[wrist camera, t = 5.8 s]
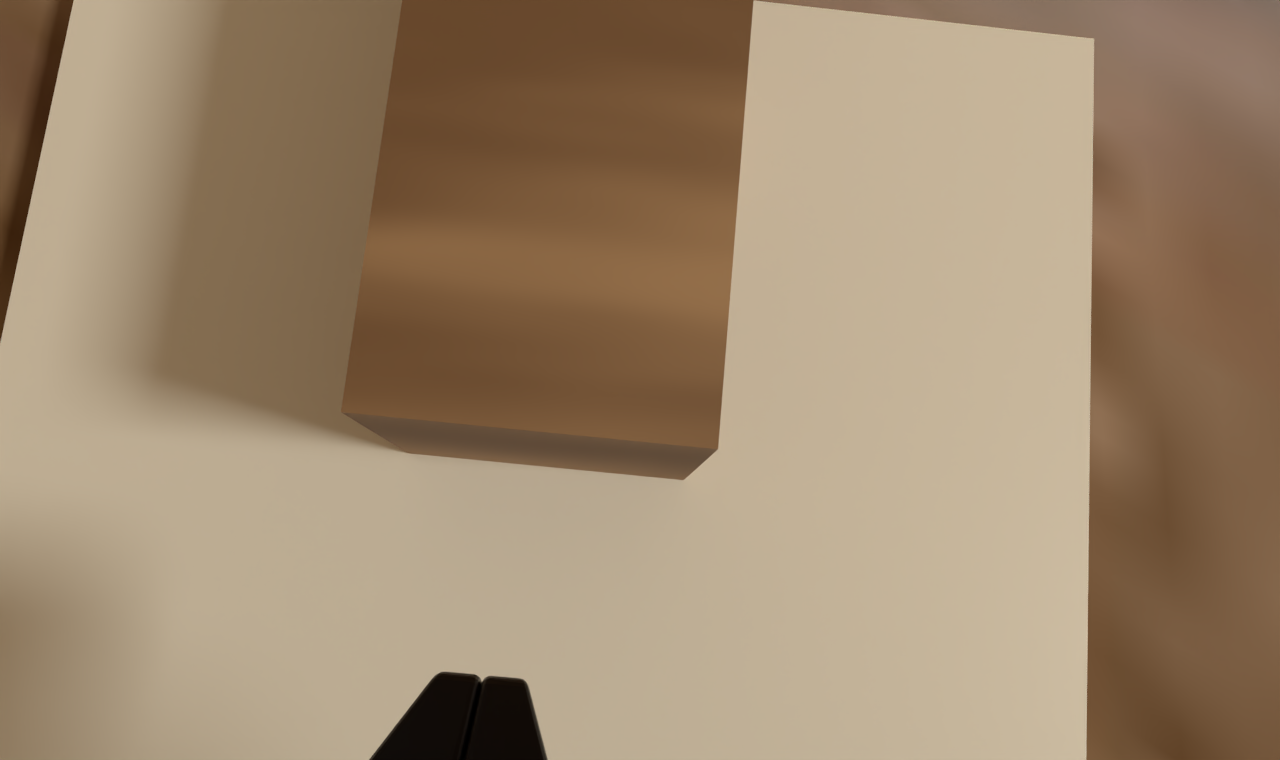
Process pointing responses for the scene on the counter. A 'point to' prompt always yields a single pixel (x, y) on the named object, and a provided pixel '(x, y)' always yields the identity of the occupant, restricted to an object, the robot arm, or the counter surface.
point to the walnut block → (554, 233)
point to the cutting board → (535, 495)
